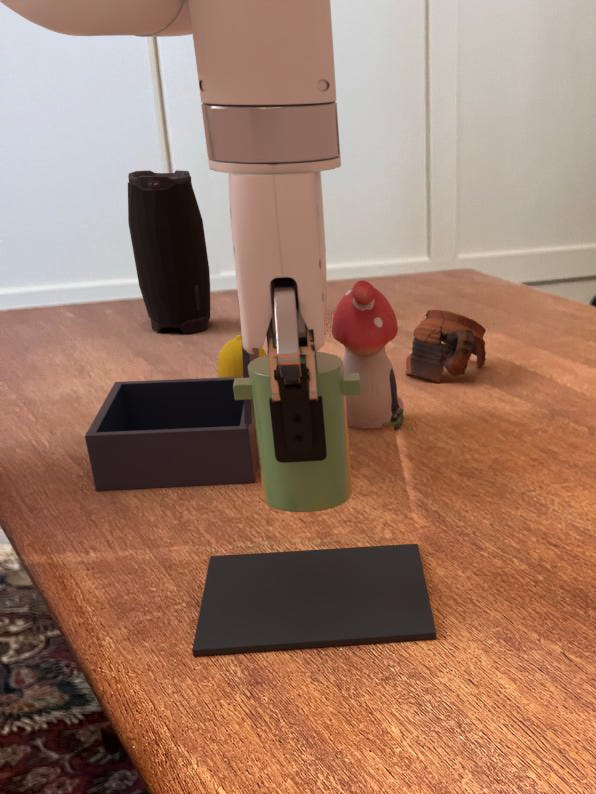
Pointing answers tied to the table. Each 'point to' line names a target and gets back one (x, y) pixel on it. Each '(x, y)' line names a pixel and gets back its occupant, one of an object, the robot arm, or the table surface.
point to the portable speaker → (169, 250)
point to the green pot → (330, 477)
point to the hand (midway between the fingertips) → (301, 439)
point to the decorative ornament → (368, 356)
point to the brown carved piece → (445, 345)
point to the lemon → (232, 358)
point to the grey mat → (313, 600)
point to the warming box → (171, 436)
